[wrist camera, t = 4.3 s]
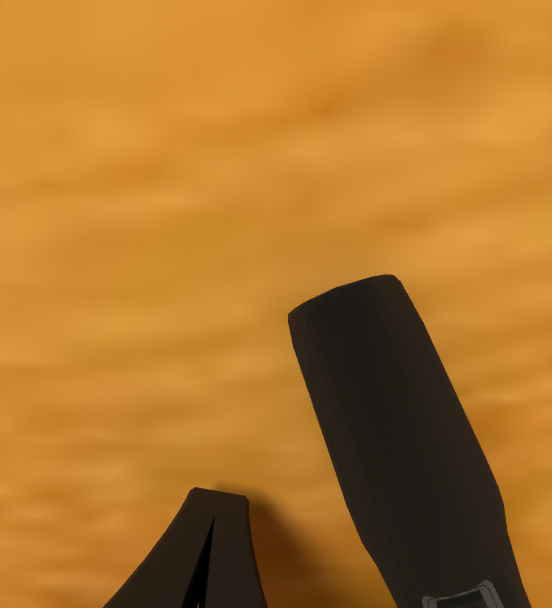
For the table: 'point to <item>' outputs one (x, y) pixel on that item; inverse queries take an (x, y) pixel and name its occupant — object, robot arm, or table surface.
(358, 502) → the electric trimmer
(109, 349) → the table surface
